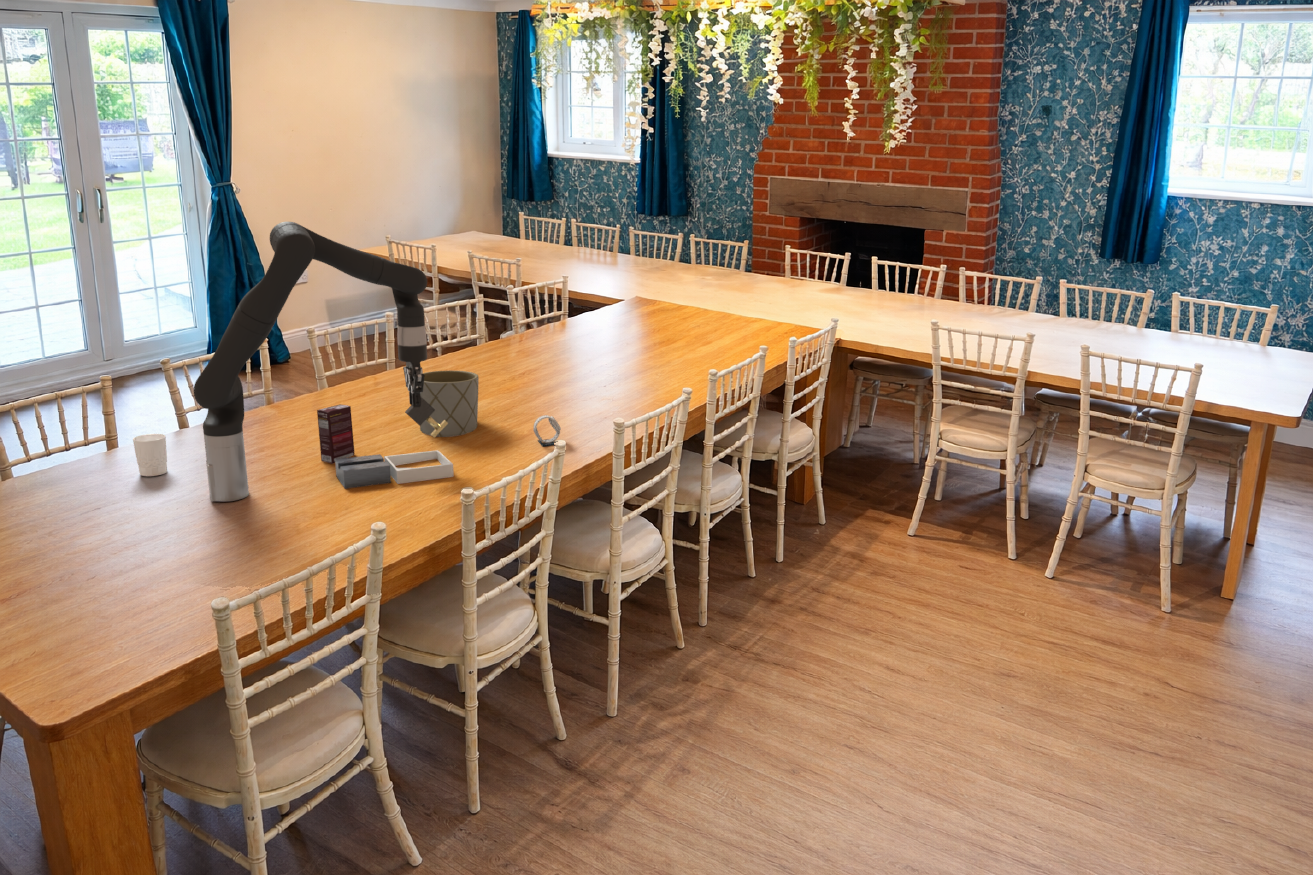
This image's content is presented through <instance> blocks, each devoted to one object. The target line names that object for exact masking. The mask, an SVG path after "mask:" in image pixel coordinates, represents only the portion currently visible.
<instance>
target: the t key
mask: <svg viewBox="0 0 1313 875" xmlns="http://www.w3.org/2000/svg"><path fill="white" fill-rule="evenodd" d="M434 411H435V409H434V408H433V407H432V406H431V405H430V404H429V403H427V402H426V401H425V400H424V399H423V398H422V397H421V406H420V407H413V406H412V405H410V406H409V407H408V408H407V409H406V410H405V411H404V413H405V414H406V415H407V416H408V417H409V418H411V419H412V420H413V421H414V422H415V423H416V424H417V425H418V426H419V427H420V425H421V424H422V423H423V422H424V421H425V420H426V421H427V422H428V423H429V424H430V425H431V426H432V427H434V428H435V430H434V431H433V432H432V433H431V435H432V436H431V437H433V439H435V438H436V436H437V434H438V433H439V432H440V431H441V430H442V429H443V428H444V427H445V426H446V425H447V424H448V423H447V422H446V421H445V420H444V421H443V422H442V423H441V424H440V425H439V424H438V423H437V422H436V421H435V420H434V419H432V418H431V417H430V415H431V414H432V413H433V412H434Z"/></svg>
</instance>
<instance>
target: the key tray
mask: <svg viewBox="0 0 1313 875" xmlns="http://www.w3.org/2000/svg"><path fill="white" fill-rule="evenodd" d="M383 458H384V461H386V462H387V463H388V464H389V465H390V475H391V479H393V480H394V481H395V483H396V484H398V485H399V484H407V483H415V482H422V481H432V480H438V479H446V478H447V479H448V478H453V477H454V476H455V475H454V463H453V462H452V461H451V460H449V459H448V458H447V457H446V455H443V453H442V452H441V451H440V450H430V451H429V450H428V451H419V452H410V453H404V454H403V453H402V454H394V455H393V454H391V455H385V456H383ZM431 460H437V461H438V462H439V463H440V464H439V465H438V464H437V465H429V466H420V467H396V466H402V465H406V464H407V465H408V464H412V463H413V464H414V463H419V462H425V461H431Z"/></svg>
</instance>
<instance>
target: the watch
mask: <svg viewBox="0 0 1313 875" xmlns="http://www.w3.org/2000/svg"><path fill="white" fill-rule="evenodd" d="M545 419H548V422H549V424H550V425H551V427H552V428H553V430H554V431H555V432H556V433H555V434H554V436H553V437H552V438H549V439H548V438H547V439H543V438H542V437H541V435H540V433H539V430H538V424H539V423H540V422H541V421H542V420H545ZM561 429H562V428H561V426H560V424H559V423H558V421H557V420H556V419H555V417H554V416H553V415H551V416H550V415H547V414H546V415H540V416H538V417H537V418H536V419H535V421H534V423H533V432H534V435H535V436H536V438H537V442H538V443H539V444H540V446H541V447H542V448H545V447H553V446H555V445H554V442H556V440H557V439H558V438H559V437H560V434H561Z"/></svg>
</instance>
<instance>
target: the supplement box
mask: <svg viewBox="0 0 1313 875" xmlns="http://www.w3.org/2000/svg"><path fill="white" fill-rule="evenodd" d="M351 408H352V406H351V405H346V404H340V403H339V404H337V405H331V406H328V407H323V408H320V409H317V410H316V413H317V414H316V415H317V423H318V424H317V426H318V427H317V428H318V436H319V450H320V459H321V462H324V463H327V464H328V463H329V464H332V465H335V459H343V458H351V457H352V456H353V457H354V456H355V455H354V454H355V445H354V443H355V442H354V432H353V431H354V430H353V421H352V419H353V418H352V409H351Z"/></svg>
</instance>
